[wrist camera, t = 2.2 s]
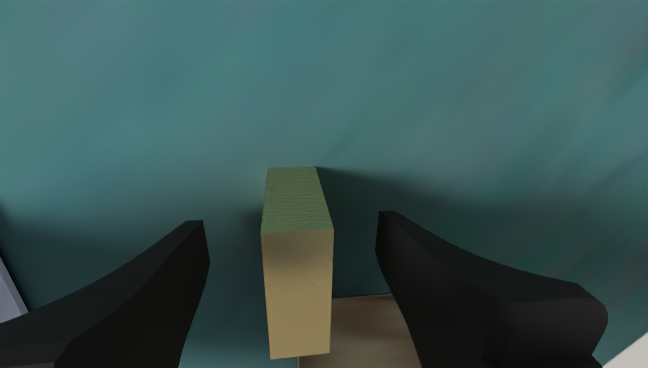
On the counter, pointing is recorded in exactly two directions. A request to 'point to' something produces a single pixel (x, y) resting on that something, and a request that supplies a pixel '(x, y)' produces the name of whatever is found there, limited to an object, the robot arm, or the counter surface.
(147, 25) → the counter surface
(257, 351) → the counter surface
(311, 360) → the box
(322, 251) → the block
